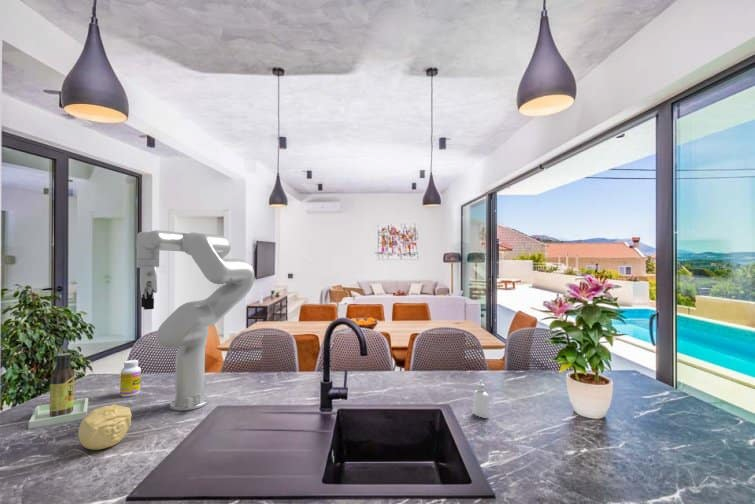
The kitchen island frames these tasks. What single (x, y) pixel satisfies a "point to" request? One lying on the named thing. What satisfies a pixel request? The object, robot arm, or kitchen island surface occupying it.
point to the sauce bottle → (62, 387)
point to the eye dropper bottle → (481, 401)
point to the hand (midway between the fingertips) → (147, 308)
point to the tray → (44, 419)
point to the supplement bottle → (130, 379)
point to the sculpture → (104, 427)
